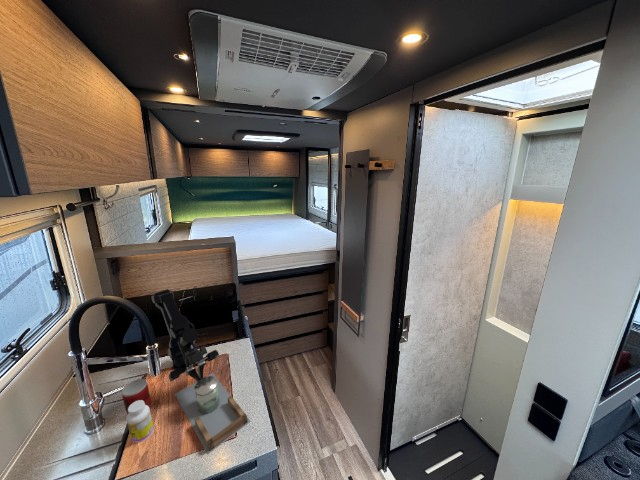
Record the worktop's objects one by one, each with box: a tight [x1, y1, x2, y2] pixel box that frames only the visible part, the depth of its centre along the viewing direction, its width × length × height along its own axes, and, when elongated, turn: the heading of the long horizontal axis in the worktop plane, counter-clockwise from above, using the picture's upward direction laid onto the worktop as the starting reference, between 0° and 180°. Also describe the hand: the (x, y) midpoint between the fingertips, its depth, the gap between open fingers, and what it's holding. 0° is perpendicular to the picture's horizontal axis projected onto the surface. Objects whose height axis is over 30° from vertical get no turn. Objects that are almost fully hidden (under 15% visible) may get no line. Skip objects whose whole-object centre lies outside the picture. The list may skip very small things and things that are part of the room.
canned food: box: [121, 378, 152, 416], centre depth 98 cm, size 8×8×11 cm
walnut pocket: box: [195, 395, 248, 451], centre depth 92 cm, size 12×14×3 cm
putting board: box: [174, 372, 252, 455], centre depth 99 cm, size 34×16×1 cm, turn 46°
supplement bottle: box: [125, 400, 155, 444], centre depth 88 cm, size 7×7×13 cm
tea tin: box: [194, 375, 220, 414], centre depth 99 cm, size 8×8×10 cm
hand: (202, 384), depth 102 cm, fingers closed
